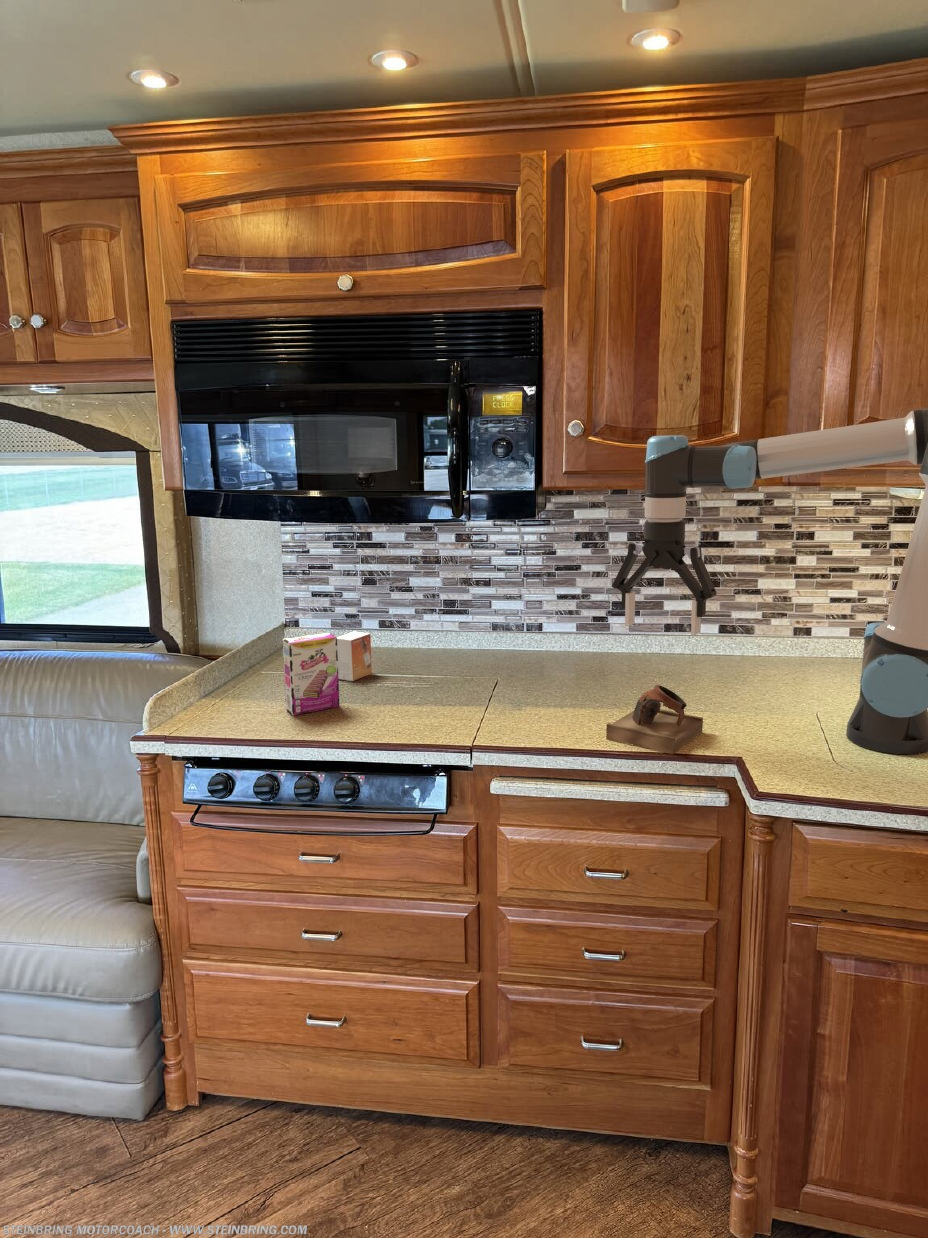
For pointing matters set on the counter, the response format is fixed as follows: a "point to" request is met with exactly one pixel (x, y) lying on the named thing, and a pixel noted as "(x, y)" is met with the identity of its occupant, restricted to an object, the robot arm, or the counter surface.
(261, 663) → the counter surface
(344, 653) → the small box
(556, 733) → the counter surface
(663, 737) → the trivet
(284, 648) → the candy bar box
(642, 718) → the brown hollow arched piece
